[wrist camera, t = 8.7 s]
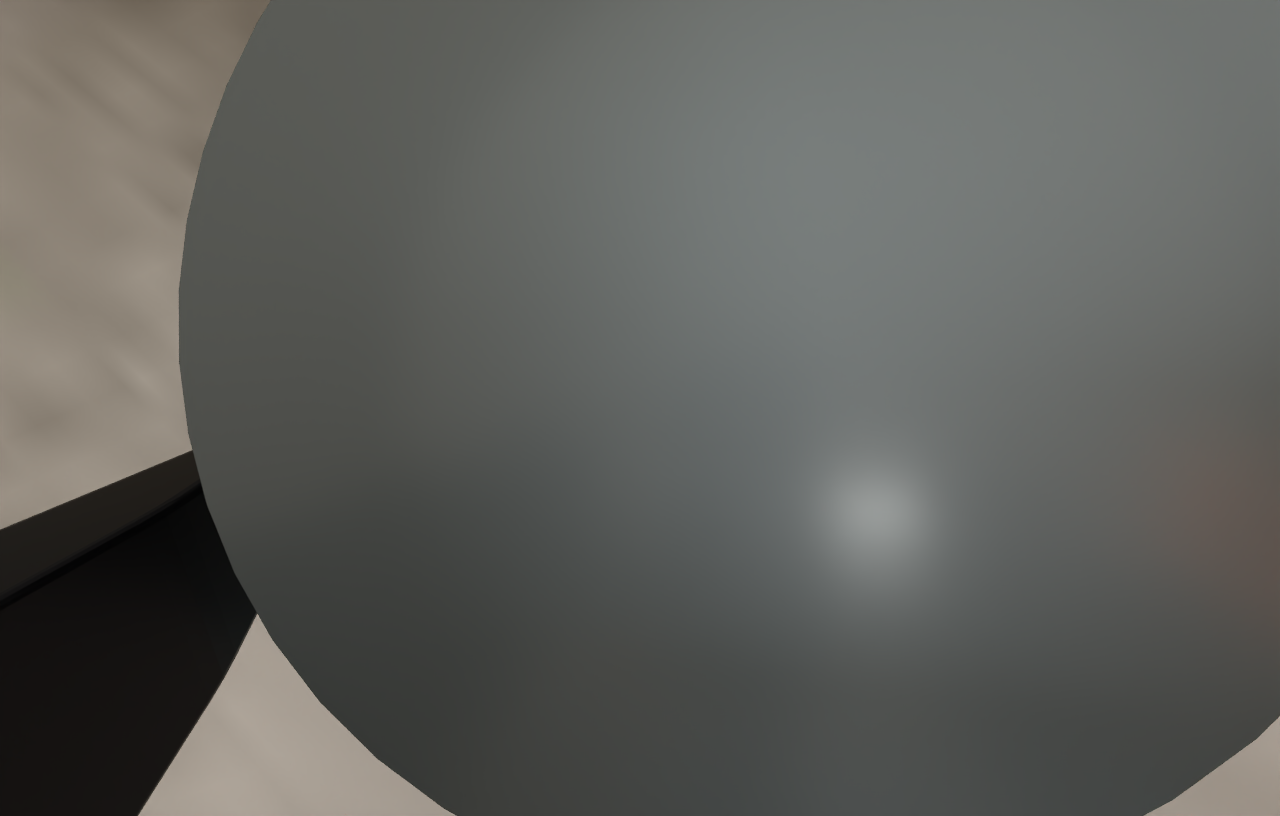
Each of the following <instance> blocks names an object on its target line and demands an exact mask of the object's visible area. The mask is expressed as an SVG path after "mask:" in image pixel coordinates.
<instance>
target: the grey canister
mask: <svg viewBox="0 0 1280 816" xmlns="http://www.w3.org/2000/svg"><path fill="white" fill-rule="evenodd" d="M179 364H180V372H181V380H182V387H183V395H184V403H185V411H186V418H187V426H188V434H189V438H190V442H191V445H192V449H193V453H194V457H195V461H196V465H197V469H198V472H199V476H200V480H201V484H202V488H203V492H204V495H205V499H206V503H207V506H208V509H209V511H210V514H211V516H212V518H213V521H214V523H215V526H216V528H217V531H218V533H219V536H220V538H221V541H222V543H223V546H224V548H225V551H226V553H227V556H228V558H229V560H230V563H231V565H232V568H233V570H234V573H235V575H236V577H237V578H238V580H239V582H240V584H241V585H242V587H243V589H244V591H245V592H246V594H247V596H248V598H249V599H250V601H251V603H252V605H253V606H254V608H255V610H256V612H257V614H258V615H259V617H260V619H261V621H262V622H263V624H264V626H265V628H266V629H267V631H268V633H269V635H270V636H271V638H272V640H273V641H274V643H275V644H276V645H277V646H278V648H279V649H280V650H281V652H282V653H283V654H284V656H285V657H286V658H287V659H288V661H289V662H290V663H291V665H292V666H293V667H294V669H295V670H296V671H297V673H298V674H299V675H300V676H301V678H302V679H303V680H304V682H305V683H306V684H307V686H308V687H309V688H310V690H311V691H312V692H313V693H314V695H315V696H316V697H317V699H318V700H319V701H320V703H322V704H323V705H324V706H325V707H326V708H327V709H328V710H329V711H330V712H331V713H332V714H333V715H334V716H335V717H336V718H337V719H338V720H339V721H340V722H341V723H342V724H343V725H344V726H345V727H346V728H347V729H348V730H349V731H350V732H351V733H352V734H353V735H354V736H355V737H356V738H357V739H358V740H359V741H360V742H361V743H362V744H363V745H364V746H365V747H366V748H367V749H368V750H369V751H370V752H371V753H372V754H373V755H374V756H375V757H376V758H377V759H378V760H380V761H381V762H382V763H384V764H385V765H386V766H388V767H389V768H390V769H392V770H393V771H394V772H396V773H397V774H398V775H400V776H401V777H402V778H404V779H405V780H406V781H408V782H409V783H411V784H412V785H413V786H415V787H416V788H417V789H419V790H420V791H421V792H423V793H424V794H425V795H427V796H428V797H429V798H431V799H432V800H433V801H435V802H436V803H437V804H439V805H440V806H441V807H443V808H444V809H446V810H448V811H449V812H451V813H453V814H455V815H457V816H1143V815H1145V814H1147V813H1149V812H1151V811H1153V810H1155V809H1157V808H1159V807H1160V806H1162V805H1164V804H1166V803H1168V802H1170V801H1172V800H1173V799H1175V798H1176V797H1177V796H1179V795H1180V794H1182V793H1183V792H1184V791H1186V790H1187V789H1188V788H1190V787H1191V786H1193V785H1194V784H1195V783H1197V782H1198V781H1199V780H1201V779H1202V778H1203V777H1205V776H1206V775H1208V774H1209V773H1210V772H1212V771H1213V770H1214V769H1216V768H1217V767H1219V766H1220V765H1221V764H1223V763H1224V762H1225V761H1227V760H1228V759H1230V758H1231V757H1232V756H1234V755H1235V754H1236V753H1238V752H1239V751H1241V750H1242V749H1243V748H1245V747H1246V746H1247V745H1249V744H1250V743H1252V742H1253V741H1254V740H1256V739H1257V738H1258V737H1259V736H1260V735H1261V734H1262V733H1263V732H1264V731H1265V730H1266V729H1267V728H1268V727H1269V726H1270V725H1271V724H1272V723H1273V722H1274V721H1275V720H1276V719H1277V718H1278V717H1279V716H1280V0H271V1H270V3H269V4H268V6H267V8H266V9H265V11H264V12H263V14H262V16H261V17H260V19H259V20H258V22H257V24H256V26H255V28H254V30H253V32H252V34H251V36H250V39H249V41H248V43H247V45H246V47H245V49H244V51H243V53H242V55H241V57H240V59H239V61H238V63H237V65H236V67H235V69H234V71H233V74H232V76H231V78H230V80H229V82H228V84H227V86H226V89H225V92H224V95H223V97H222V100H221V103H220V106H219V109H218V111H217V114H216V117H215V120H214V123H213V125H212V128H211V131H210V134H209V137H208V139H207V142H206V145H205V148H204V151H203V154H202V159H201V163H200V167H199V171H198V176H197V180H196V184H195V188H194V193H193V197H192V201H191V205H190V210H189V214H188V218H187V225H186V233H185V242H184V251H183V260H182V268H181V277H180V286H179Z"/></svg>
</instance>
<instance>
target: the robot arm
mask: <svg viewBox="0 0 1280 816" xmlns="http://www.w3.org/2000/svg"><path fill="white" fill-rule="evenodd" d="M256 615H257V612H256V610H255V608H254V606H253V605H252V603H251V601H250V599H249V598H248V596H247V594H246V592H245V591H244V589H243V587H242V585H241V584H240V582H239V580H238V578H237V577H236V575H235V573H234V570H233V568H232V565H231V563H230V560H229V558H228V556H227V553H226V551H225V548H224V546H223V543H222V541H221V538H220V536H219V533H218V531H217V528H216V526H215V523H214V521H213V518H212V516H211V514H210V511H209V509H208V506H207V503H206V499H205V495H204V492H203V488H202V484H201V480H200V476H199V472H198V469H197V465H196V461H195V457H194V453H193V450H192V451H189V452H187V453H184V454H182V455H180V456H177V457H175V458H172V459H170V460H168V461H165V462H163V463H160V464H158V465H155V466H153V467H151V468H148V469H146V470H143V471H141V472H138V473H136V474H134V475H131V476H129V477H126V478H124V479H122V480H119V481H117V482H114V483H112V484H109V485H107V486H105V487H102V488H100V489H97V490H95V491H93V492H90V493H88V494H85V495H83V496H80V497H78V498H76V499H73V500H71V501H68V502H66V503H63V504H61V505H59V506H56V507H54V508H51V509H49V510H47V511H44V512H42V513H39V514H37V515H34V516H32V517H30V518H27V519H25V520H22V521H20V522H18V523H15V524H13V525H10V526H8V527H5V528H3V529H1V530H0V816H138V815H139V813H140V812H141V810H142V809H143V807H144V805H145V804H146V802H147V801H148V799H149V798H150V796H151V794H152V793H153V791H154V790H155V788H156V786H157V785H158V783H159V782H160V780H161V779H162V777H163V775H164V774H165V772H166V771H167V769H168V767H169V766H170V764H171V763H172V761H173V760H174V758H175V756H176V755H177V753H178V752H179V750H180V748H181V747H182V745H183V744H184V742H185V741H186V739H187V737H188V736H189V734H190V733H191V731H192V730H193V728H194V726H195V725H196V723H197V722H198V720H199V718H200V717H201V715H202V714H203V712H204V711H205V709H206V707H207V706H208V704H209V703H210V701H211V699H212V698H213V696H214V694H215V693H216V691H217V689H218V688H219V686H220V684H221V683H222V681H223V679H224V678H225V676H226V674H227V672H228V670H229V668H230V666H231V664H232V662H233V661H234V659H235V657H236V655H237V653H238V651H239V649H240V647H241V645H242V643H243V641H244V639H245V637H246V635H247V633H248V631H249V629H250V627H251V625H252V623H253V621H254V619H255V617H256Z"/></svg>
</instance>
